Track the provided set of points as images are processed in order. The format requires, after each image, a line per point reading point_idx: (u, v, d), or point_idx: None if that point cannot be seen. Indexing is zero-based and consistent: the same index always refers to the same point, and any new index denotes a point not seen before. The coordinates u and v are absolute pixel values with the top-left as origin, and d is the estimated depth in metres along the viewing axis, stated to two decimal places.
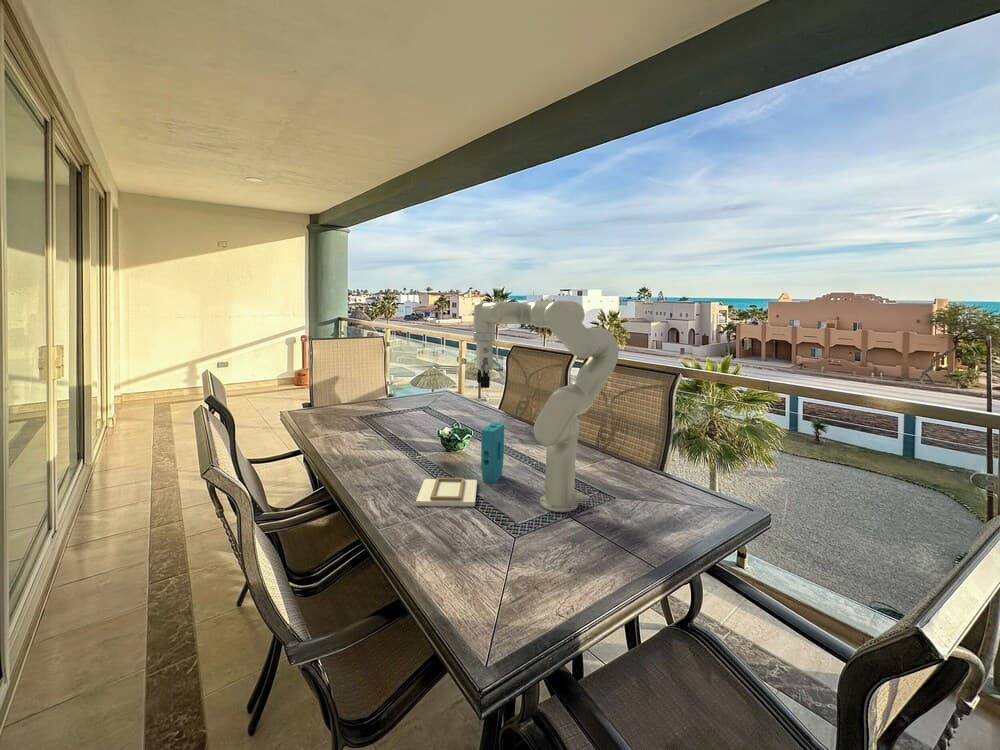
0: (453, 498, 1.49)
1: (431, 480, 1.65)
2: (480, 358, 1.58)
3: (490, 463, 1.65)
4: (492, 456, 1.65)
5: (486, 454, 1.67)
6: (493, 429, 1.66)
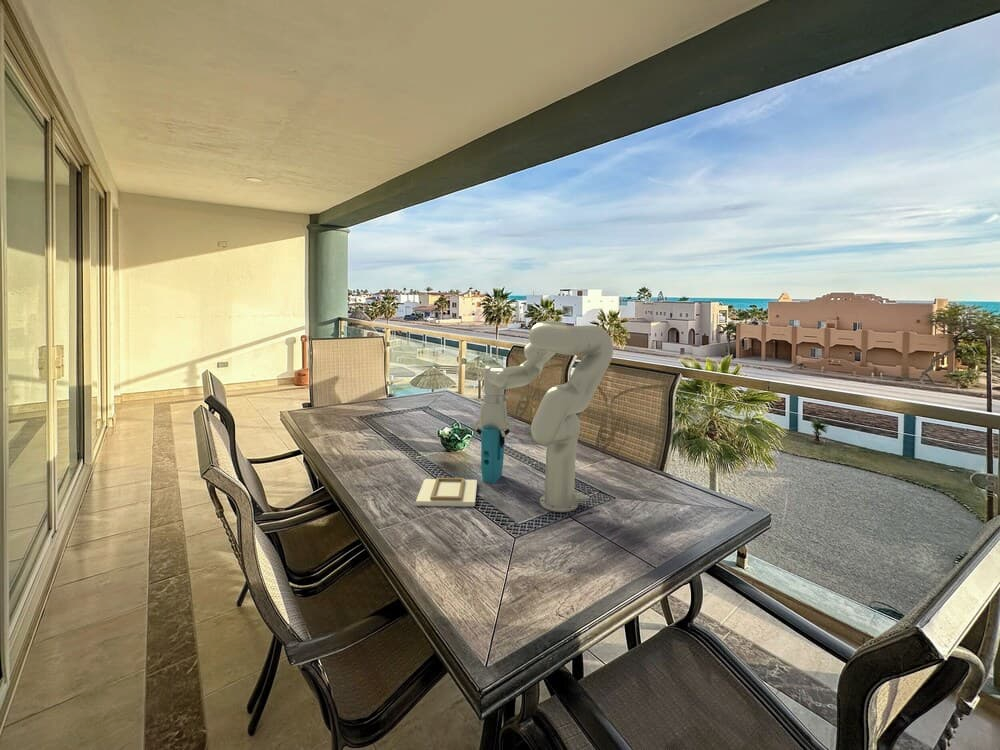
0: (453, 498, 1.49)
1: (431, 480, 1.65)
2: (506, 418, 1.67)
3: (490, 463, 1.65)
4: (492, 456, 1.65)
5: (486, 454, 1.67)
6: (493, 429, 1.66)
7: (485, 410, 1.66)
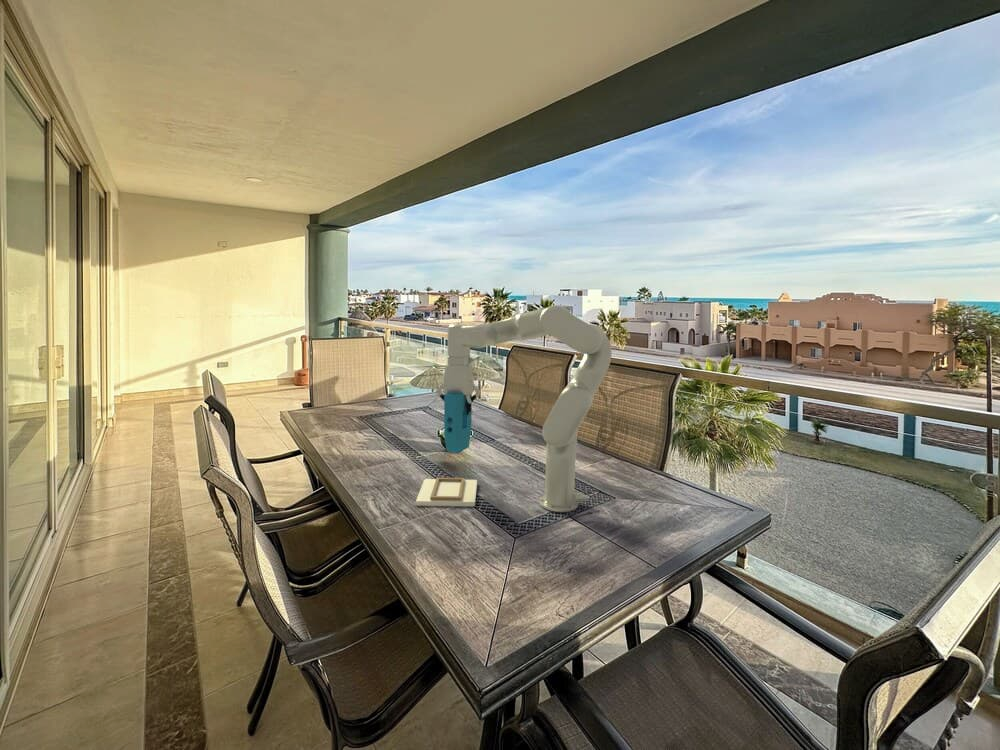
0: (453, 498, 1.49)
1: (431, 480, 1.65)
2: (472, 382, 1.53)
3: (453, 431, 1.51)
4: (456, 423, 1.51)
5: (449, 421, 1.52)
6: (457, 394, 1.52)
7: (449, 373, 1.52)
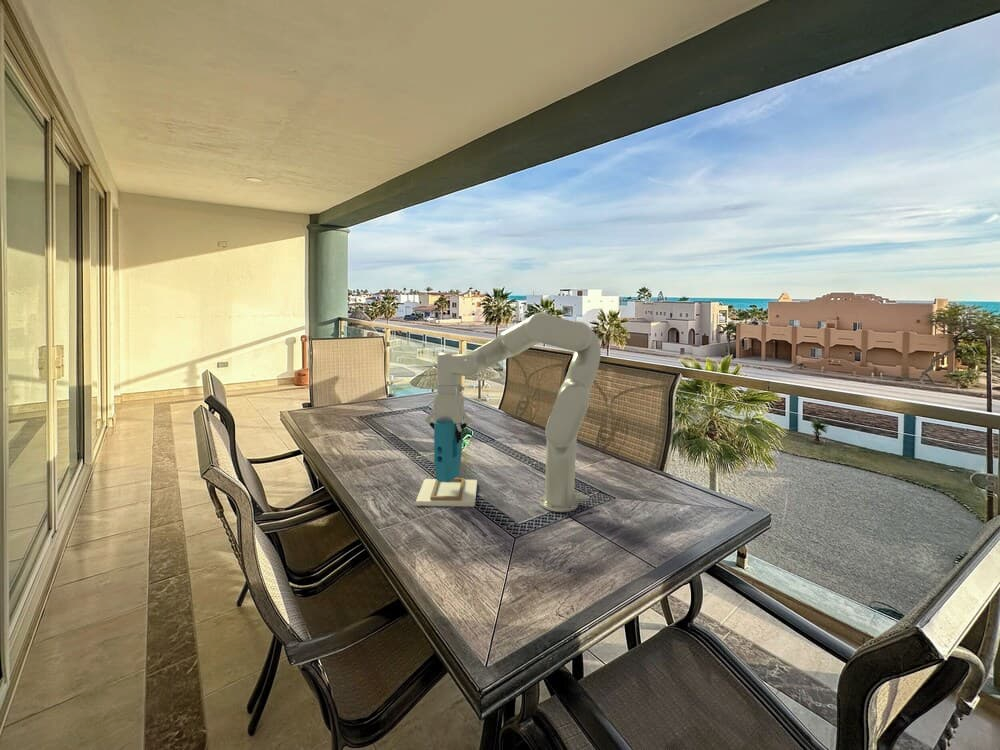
0: (453, 498, 1.49)
1: (431, 480, 1.65)
2: (462, 411, 1.51)
3: (444, 460, 1.50)
4: (446, 452, 1.49)
5: (439, 450, 1.51)
6: (447, 422, 1.50)
7: (439, 402, 1.50)
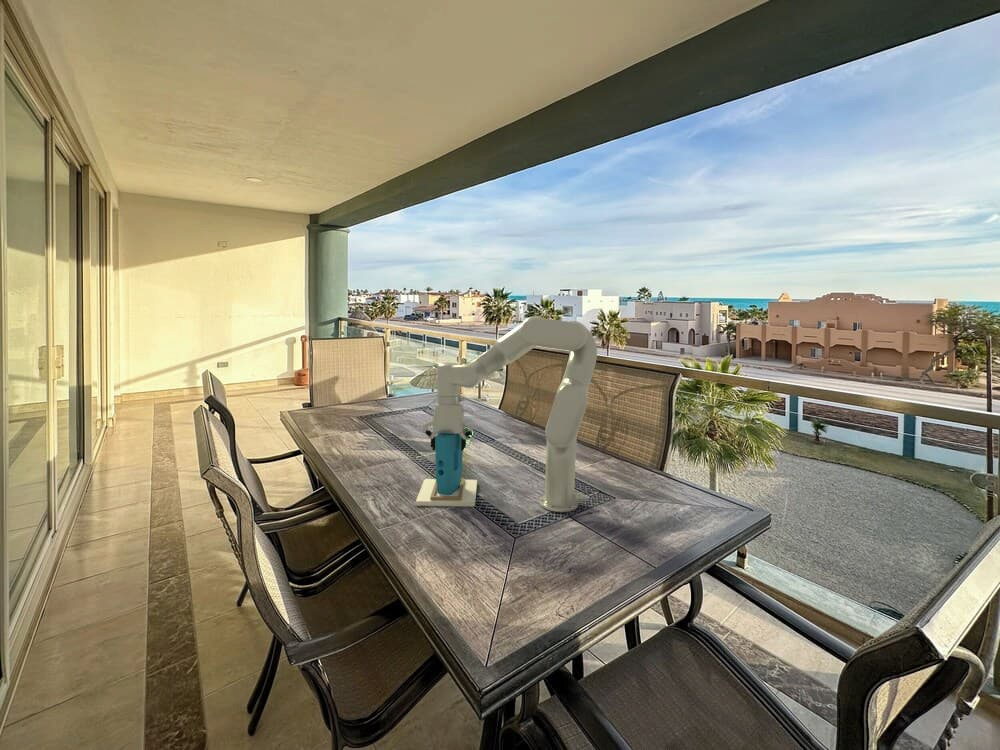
0: (453, 498, 1.49)
1: (431, 480, 1.65)
2: (462, 421, 1.52)
3: (445, 474, 1.50)
4: (447, 466, 1.50)
5: (440, 464, 1.51)
6: (448, 436, 1.51)
7: (439, 412, 1.51)
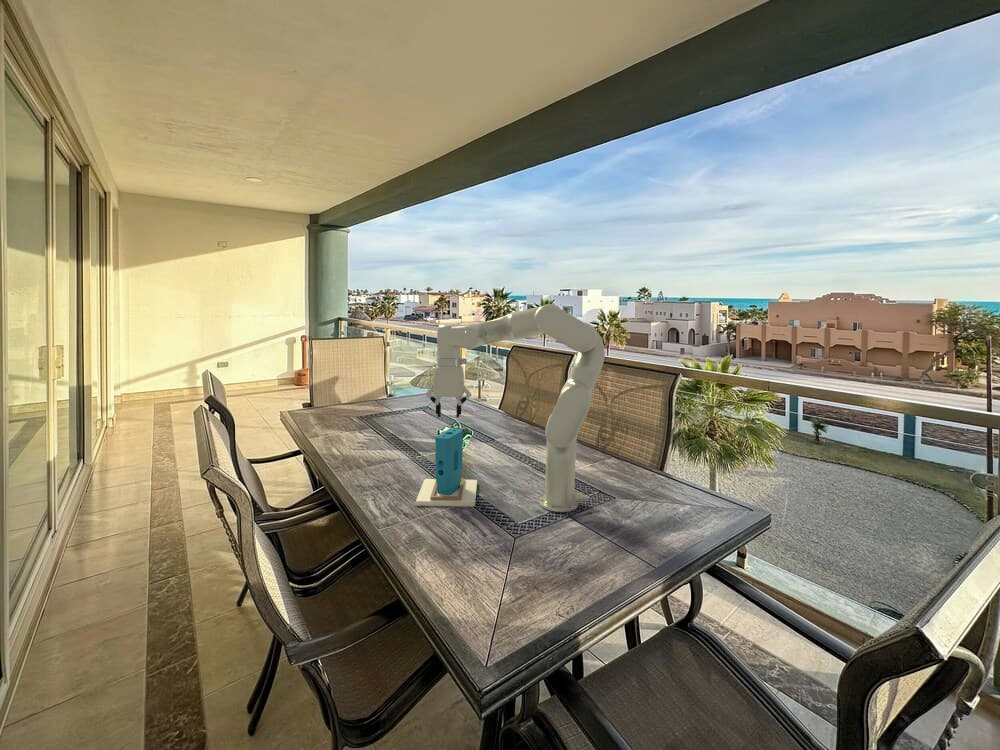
0: (453, 498, 1.49)
1: (431, 480, 1.65)
2: (462, 384, 1.50)
3: (445, 474, 1.50)
4: (447, 466, 1.50)
5: (440, 464, 1.51)
6: (448, 436, 1.51)
7: (439, 375, 1.49)
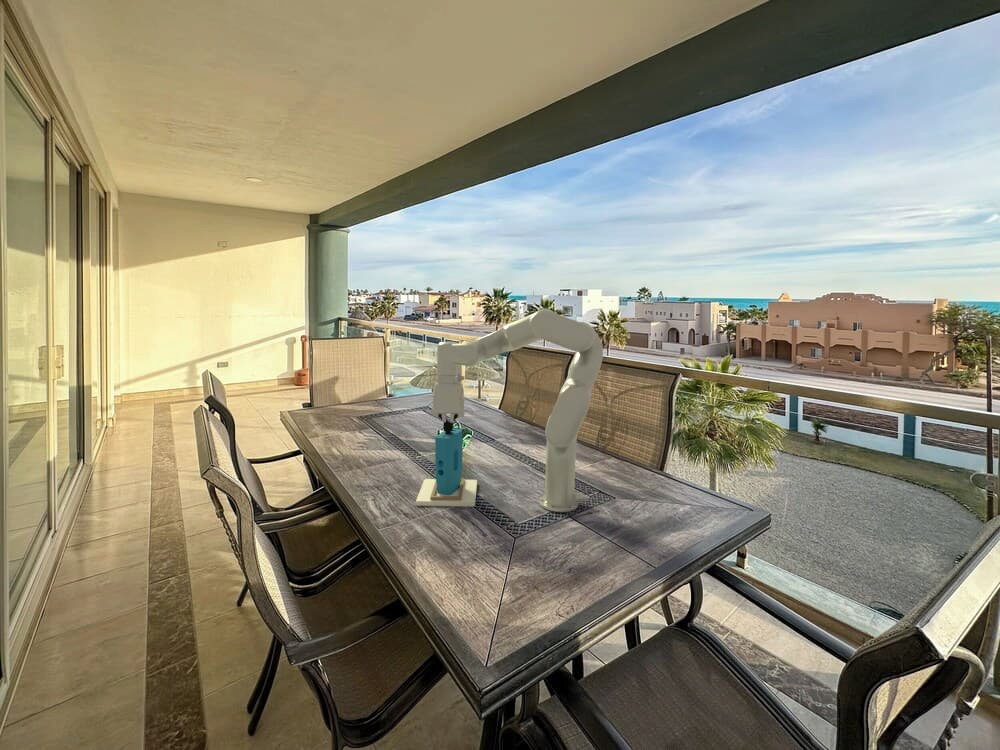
0: (453, 498, 1.49)
1: (431, 480, 1.65)
2: (462, 401, 1.51)
3: (445, 473, 1.50)
4: (447, 466, 1.50)
5: (440, 464, 1.51)
6: (448, 436, 1.51)
7: (439, 392, 1.50)
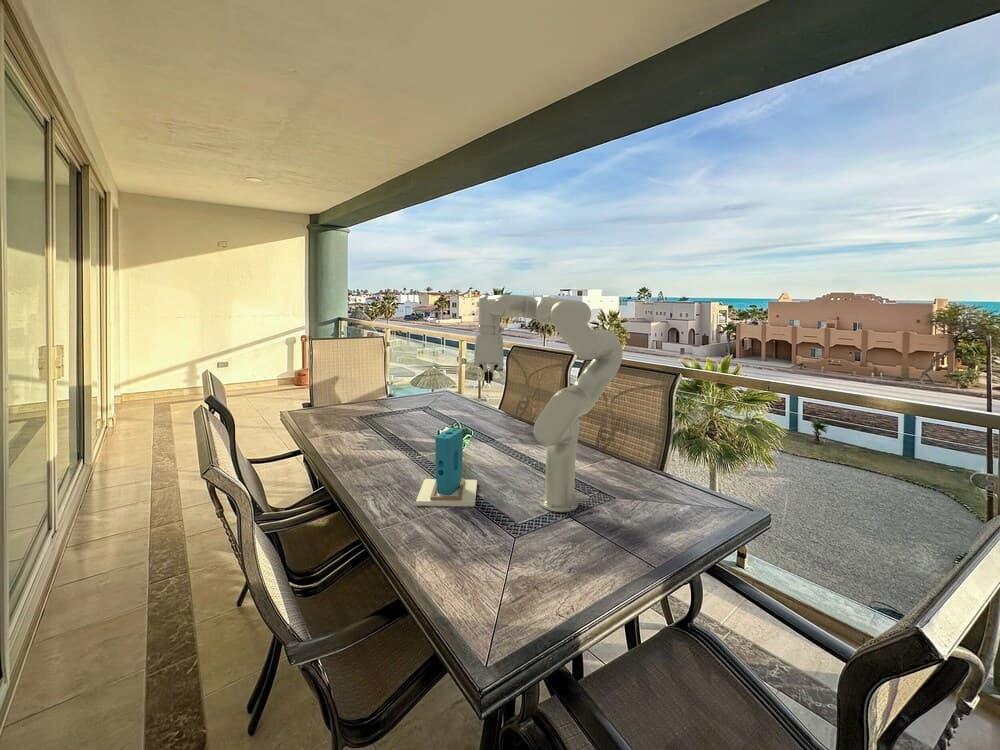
0: (453, 498, 1.49)
1: (431, 480, 1.65)
2: (502, 351, 1.60)
3: (445, 474, 1.50)
4: (447, 466, 1.50)
5: (440, 464, 1.51)
6: (448, 436, 1.51)
7: (480, 342, 1.59)
